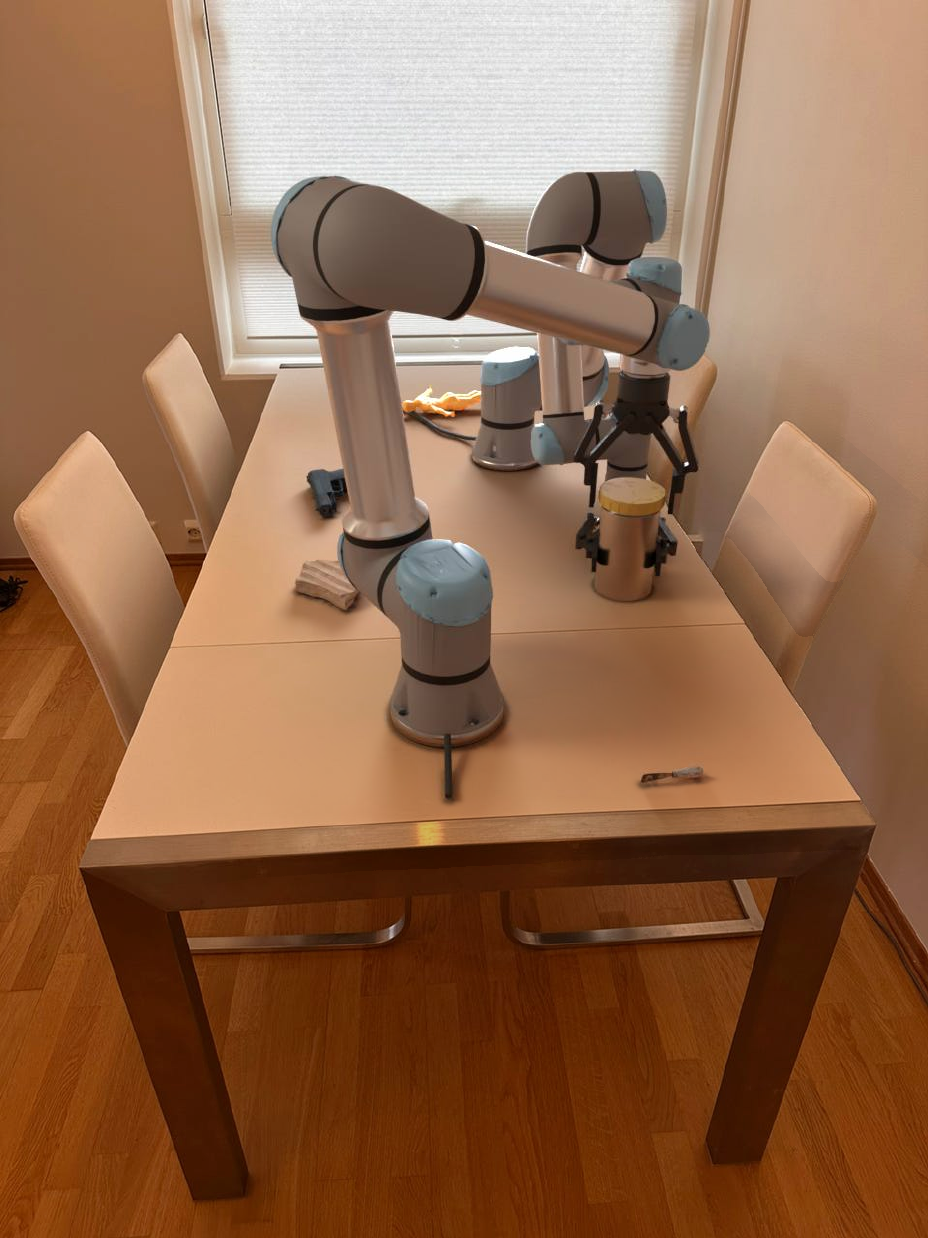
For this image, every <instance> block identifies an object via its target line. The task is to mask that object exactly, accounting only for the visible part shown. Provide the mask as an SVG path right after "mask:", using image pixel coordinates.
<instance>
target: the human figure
mask: <svg viewBox="0 0 928 1238" xmlns="http://www.w3.org/2000/svg"><path fill="white" fill-rule="evenodd" d="M424 391H425V392H423V393H422V394H420V395H418V396H416V398H415V399H414V400H404V401H402V407H403V409H402V410H403V412H405V413H409V412H412V411H415V412H417V408H418V409H420V410H421V411H423V412H424V413H427V414H439V415H443V416H444V417H449V416H450V417H451V418H452V417H453V418H454V417H455V416H456V414H455V411H462V410H464V409H467V408H469V407H471V406H473V405H476V404H478V403H481V390H480V391H478V390H473V391H470V392H469V393H468V394H460V393H457V394H455V393H453V392H446V393H444V394H443V395H442V396H441V397H440V398H434V397H429V396H430V395H432V394H433V392H434V391H433V389H432V385H429V387H428V389H424ZM450 410H452V411H450Z"/></svg>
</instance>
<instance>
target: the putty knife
mask: <svg viewBox="0 0 928 1238" xmlns="http://www.w3.org/2000/svg"><path fill="white" fill-rule="evenodd" d="M704 772H705V771H704V768H702V767H701V766H697V765H695V766H688V767H683V768H679V769H675V770H673V771H671V772H653V773H652V772H651V773H650V772H649V773H644V774H642V776H641V779H640V783H642V784H645V783H648V782H653V781H659V780H665V779H668V778H673V779H674V778H675V779H693V778H694V779H695V778H700V777H702V776H703V775H704Z"/></svg>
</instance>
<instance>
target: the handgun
mask: <svg viewBox="0 0 928 1238" xmlns="http://www.w3.org/2000/svg"><path fill="white" fill-rule="evenodd" d="M305 477H306V482H307V483H308V484H309V487H310V489H311V492H312V496H313V498H314V499H313V500H314V502H315V504H316V508H314V511H316V512H318V513H319V516H321V517H322V518H331V517H332V516H333V514H335V513H337V511H338V510H337V509H338V508H337V501H336V499H339V498H342V497H344V491H346V490H347V486H346V481H345V475H344V470H343V468H339V469H335V470H332V471H331V470H326V469H324V468H321V469H320V468H319V469H312V470H310V471H309V472H307V475H305ZM333 511H334V512H333Z"/></svg>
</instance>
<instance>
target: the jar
mask: <svg viewBox="0 0 928 1238" xmlns="http://www.w3.org/2000/svg"><path fill="white" fill-rule="evenodd" d="M661 510H662V509H661ZM661 510H660V511H658V512H656V513H652V514H648V515H624V514H619V513H615V512H612V511H610V510H607V509H606V508H604V507H603V506H602V505H601V504H600V514H599V517H600V523H599V525H598V529H599V535H598V550H597V565H596V572H594V583H593V584H594V585H593V586H594V589H595V591H596V592H597V593H598V594H600V595H601V596H603V597H605V598H607V599H610V600H614V601H618V602H634V601H640V600H643V599H645V598H646V597H648V596H649V595H650V594H651V592H652V586H653V585H652V583H653V575H654V570H655V569H654V561H655V553H656V545H657V536H658V528H659V520H660V517H661V512H662V511H661Z"/></svg>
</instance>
